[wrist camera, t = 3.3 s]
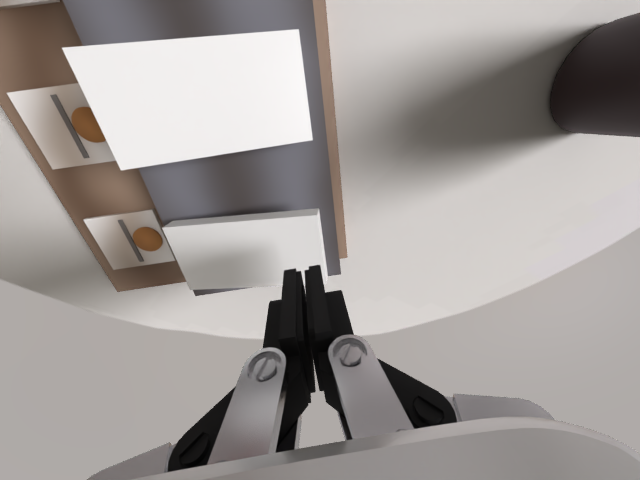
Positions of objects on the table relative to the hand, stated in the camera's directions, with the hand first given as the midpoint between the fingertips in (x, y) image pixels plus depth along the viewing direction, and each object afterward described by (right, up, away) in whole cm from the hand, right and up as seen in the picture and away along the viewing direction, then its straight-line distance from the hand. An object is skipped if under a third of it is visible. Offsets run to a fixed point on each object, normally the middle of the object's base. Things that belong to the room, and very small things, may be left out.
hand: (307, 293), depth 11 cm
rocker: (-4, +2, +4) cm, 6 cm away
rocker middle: (-5, +9, 0) cm, 10 cm away
